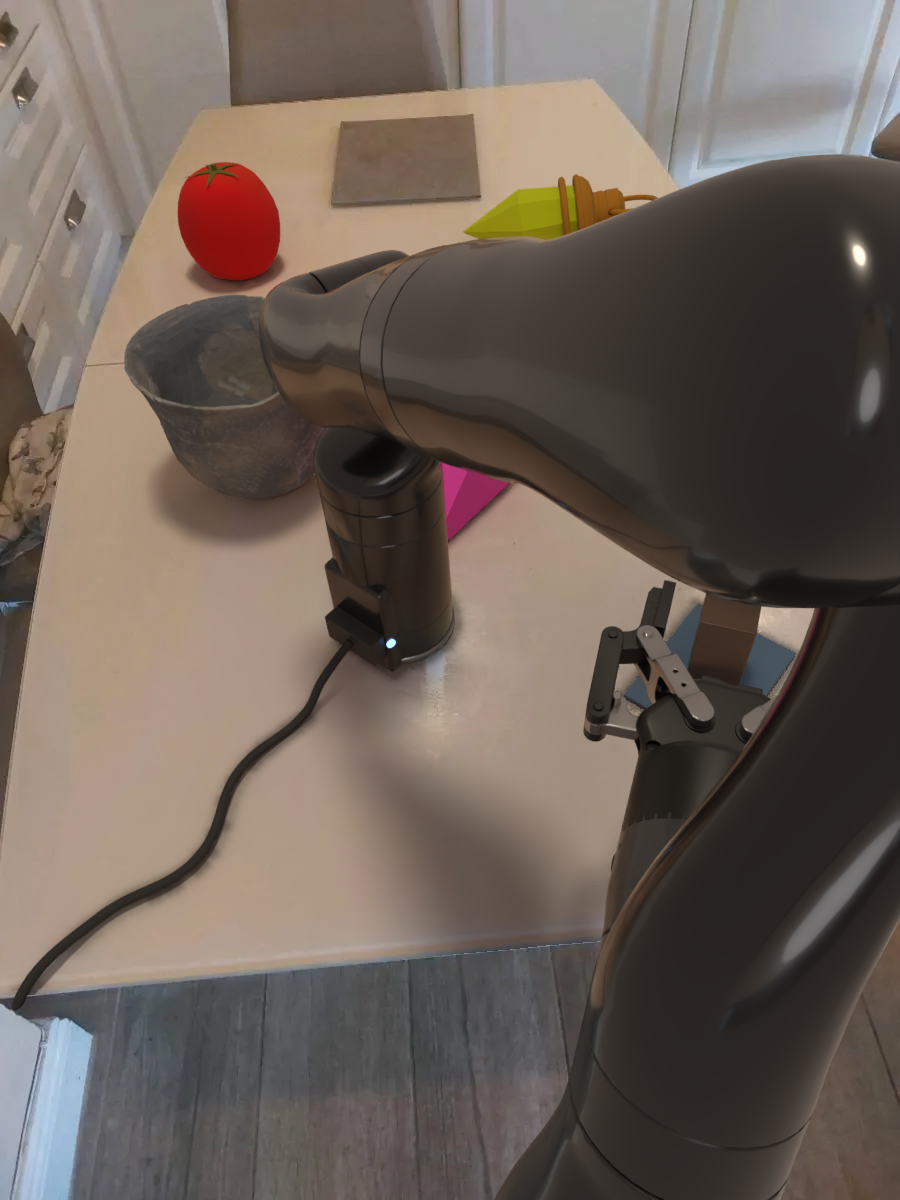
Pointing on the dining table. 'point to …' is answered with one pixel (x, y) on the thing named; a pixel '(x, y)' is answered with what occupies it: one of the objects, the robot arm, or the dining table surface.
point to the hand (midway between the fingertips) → (743, 606)
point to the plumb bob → (551, 211)
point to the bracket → (466, 495)
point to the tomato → (229, 221)
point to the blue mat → (759, 671)
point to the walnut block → (723, 639)
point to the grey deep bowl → (221, 398)
